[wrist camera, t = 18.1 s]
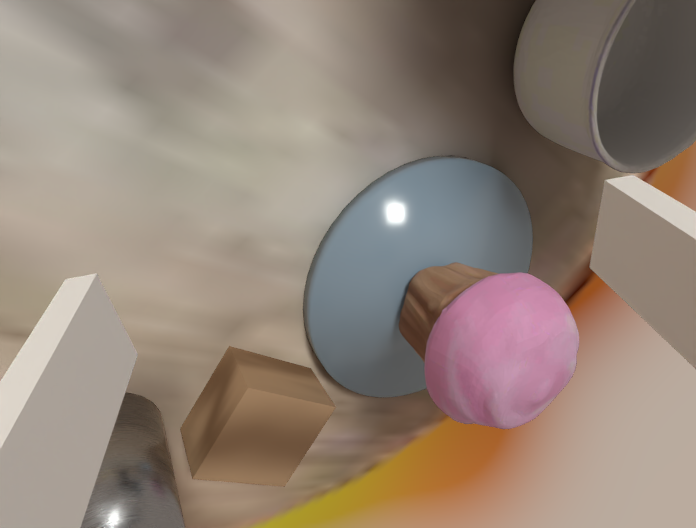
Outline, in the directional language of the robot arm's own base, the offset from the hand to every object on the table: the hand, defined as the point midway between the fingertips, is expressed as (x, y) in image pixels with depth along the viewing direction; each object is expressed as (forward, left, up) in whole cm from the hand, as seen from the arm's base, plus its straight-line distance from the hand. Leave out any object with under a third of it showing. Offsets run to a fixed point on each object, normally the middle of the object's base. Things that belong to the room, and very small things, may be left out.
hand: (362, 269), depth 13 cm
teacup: (-19, +7, -13) cm, 24 cm away
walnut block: (+9, +12, -13) cm, 20 cm away
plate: (-4, +15, -13) cm, 20 cm away
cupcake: (-3, +15, -12) cm, 19 cm away
